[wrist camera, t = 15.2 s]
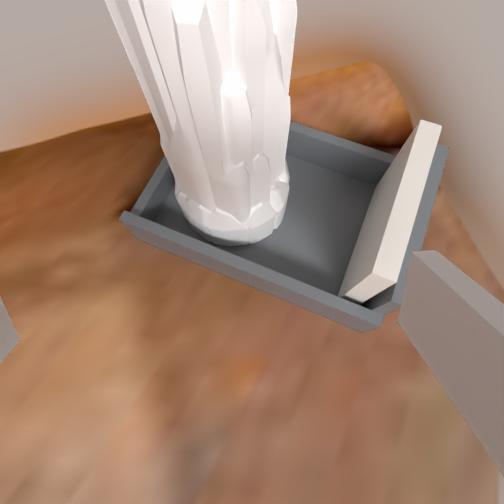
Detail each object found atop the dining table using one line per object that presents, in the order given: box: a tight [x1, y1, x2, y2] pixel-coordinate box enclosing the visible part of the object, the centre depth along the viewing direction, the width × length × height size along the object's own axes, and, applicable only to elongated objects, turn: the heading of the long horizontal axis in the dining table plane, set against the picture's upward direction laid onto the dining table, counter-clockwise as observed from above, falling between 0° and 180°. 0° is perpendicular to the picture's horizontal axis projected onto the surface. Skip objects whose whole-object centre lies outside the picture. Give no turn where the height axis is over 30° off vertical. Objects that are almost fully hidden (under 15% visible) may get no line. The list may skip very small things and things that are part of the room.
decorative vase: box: [104, 0, 297, 246], centre depth 22 cm, size 11×11×25 cm
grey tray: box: [119, 121, 449, 333], centre depth 30 cm, size 24×16×9 cm, turn 67°
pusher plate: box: [338, 120, 442, 305], centre depth 27 cm, size 2×13×10 cm, turn 157°
